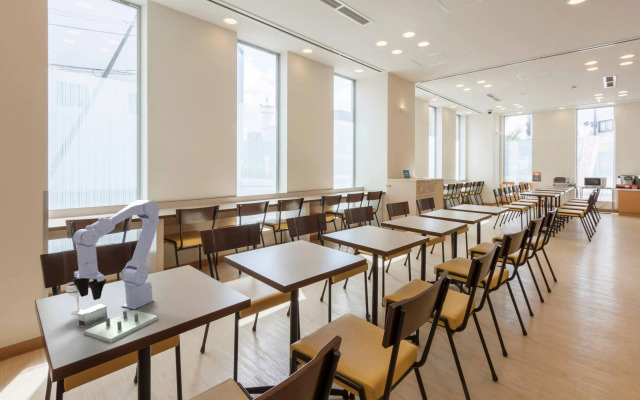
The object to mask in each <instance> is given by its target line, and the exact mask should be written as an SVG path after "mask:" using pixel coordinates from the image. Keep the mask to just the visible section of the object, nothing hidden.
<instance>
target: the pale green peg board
mask: <svg viewBox="0 0 640 400" xmlns="http://www.w3.org/2000/svg"><path fill="white" fill-rule="evenodd" d="M158 319H159V317H158V315H155V314H151V313H147V312H142V311H139V310H136V309H131V310H123V311H122V314H120V315H118V316H115V317H113V318H110V317H107V318H106V319H105V321H104V322H101V323H99V324H97V325H94V326H93V327H89V328H88V329H85V330H84V331H83V332H84V335H86V336H90V337H93V338H95V339H99V340H102V341H105V342H106V343H107V342H108V343H113V342H115V341H117V340H119V339H121V338H124V337H125V336H127V335H129V334H131V333H133V332H134V331H137V330H139V329H140V328H143V327H145V326H147V325H149V324H151V323H153V322H155V321H158Z"/></svg>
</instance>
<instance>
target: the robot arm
mask: <svg viewBox="0 0 640 400" xmlns="http://www.w3.org/2000/svg"><path fill="white" fill-rule="evenodd" d="M160 210H161V208H160V206H159V204H158V203H157V202H156V201H155V200H142V199H137V200H134V201H133V202H130V203H129V204H128V205H126V206H125V207H124V208H122V209H121V210H120V211H117V212H116V213H114V214H113V215H112V216H109V217H106V216H105V217H98V218H97V221H95V222H93V223H92V224H88V225H86V226H85V228H81V229H78V230H76V231H75V233H74V234H73V237H72V238H71V240H72V243H74V244H75V245H76V255H77V266H78V270H76V271H73V276H74V278H73V279H72V280H71V282H72V281H73V282H74V284H75V285H76V286H77V288H78V291H79V293H80V297H81V298H83V297H86V296H89V289H90V290H91V294H92V299H93V301H96V300H100V299H101V298H102V293H103V289H104V286H105V284H106V282H107V278H105V275H104V274H102V273H101V272H100V271H99V269H98V268H99V267H98V257H97V256H98V255H97V247H96V246H97V243H98V242H99V239H101V238H102V237H104V236H105V235H107V234H109V233H110V232H112V231H113V230H115V228H116V225H117V224H119V223H121V222H123V221H124V220H126V219H129V218H130V217H132V216H137V217H138V218H139V219H140V220H141V221H142V223H143V226H142V227H141V231H140V235H139V237H138V239H137V242H136V245H135V249H134V251H133V255H132V257H131V259H130V260H129V261H128V262H126V264H125V267H124V268H123V269H122V270H121V272H120V279H121V281H123V283H124V290H125V303H123V304H121V307H124V308H127V309H131V310H136V309H137V308H138V309H139V308H140V307H142V306H146V305H147V304H150V303H152V302H154V301H155V299H154V298H153V287H152V283H151V282H150V281H149V280H148V278H149V266H148V264H147V261H148V257H149V253H150V250H151V248H152V244H153V241H154V239H155V236H156V232H157V229H158V226H159V223H160V218H159V217H160V216H159V213H160ZM90 280H91V281H90Z"/></svg>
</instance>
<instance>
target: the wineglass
mask: <svg viewBox="0 0 640 400" xmlns="http://www.w3.org/2000/svg"><path fill="white" fill-rule="evenodd" d="M65 286H66V287H65V292H66V293H67V295H69V296H72V297H75V299H76V305H77V309H76V310H75V311H72V312H71V313H70V315H73V316H74V315H75V316H76V315H77V316H78V314H77V313H78V312H81V311H83V310H86V309H85V308H84V309H80V297H81V295H80V293H79V291H78V288H77V286H76V285H75V284H74V282H73V281H72V280H71V281H70V282H67V283H66V284H65Z"/></svg>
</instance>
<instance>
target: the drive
mask: <svg viewBox="0 0 640 400" xmlns="http://www.w3.org/2000/svg"><path fill="white" fill-rule="evenodd" d="M107 318H108V310H107V305H104V304H96V305H94V306H91V307H89V308H86V309H85V310H83V311H81V312H78V313H77V323H78V327H82V328H88V327H90V326H92V325H95V324H97V323H100V322H101V321H103V320H106V319H107Z"/></svg>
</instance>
